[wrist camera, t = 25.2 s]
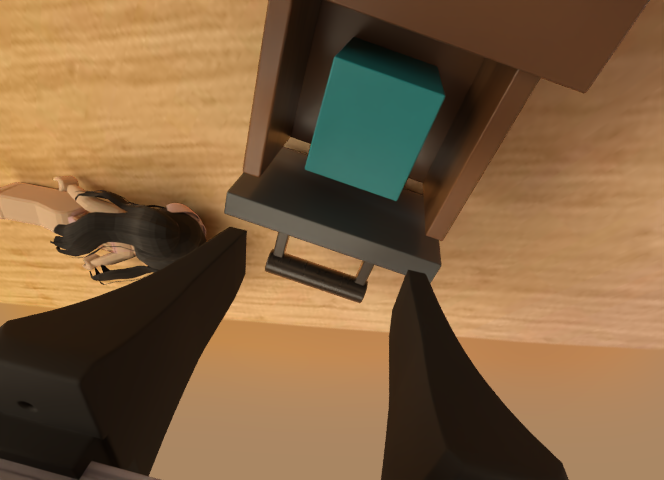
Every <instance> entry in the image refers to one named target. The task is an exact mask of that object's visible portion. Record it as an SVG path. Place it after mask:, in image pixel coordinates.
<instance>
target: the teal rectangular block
mask: <svg viewBox="0 0 664 480" xmlns="http://www.w3.org/2000/svg"><path fill="white" fill-rule="evenodd" d="M444 99H445V92H444V89H443V85H442V82H441V78H440V74H439V71H438V67H437V66H434V65H432V64H429V63H426V62H423V61H420V60H418V59H415V58H412V57H409V56H406V55H404V54H401V53H398V52H395V51H392V50H390V49H387V48H384V47H381V46H378V45H376V44H373V43H370V42H367V41H364V40H362V39H359V38H356V37H353V38H352V39H351V40H350V41H349V42H348V43H347V44H346V45H345V46H344V47H343V48H342V49H341V51H340V52H339V53H338V54H337V55H336V56H335V57H334V59H333V63H332V67H331V71H330V74H329V78H328V82H327V86H326V89H325V93H324V97H323V101H322V105H321V108H320V112H319V116H318V120H317V123H316V127H315V131H314V135H313V138H312V142H311V146H310V150H309V154H308V157H307V161H306V165H305V170H307V171H310V172H313V173H316V174H319V175H322V176H325V177H328V178H331V179H333V180H336V181H339V182H342V183H345V184H348V185H351V186H354V187H357V188H359V189H362V190H365V191H368V192H371V193H374V194H377V195H380V196H383V197H385V198H388V199H391V200H394V201H397V200H398V198H399V196H400V194H401V192H402V190H403V188H404V185H405V183H406V181H407V179H408V177H409V175H410V172H411V170H412V168H413V166H414V164H415V162H416V159H417V157H418V155H419V153H420V151H421V149H422V147H423V144H424V142H425V140H426V138H427V136H428V134H429V131H430V129H431V127H432V125H433V123H434V121H435V119H436V116H437V114H438V112H439V110H440V108H441V106H442V103H443V101H444Z"/></svg>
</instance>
